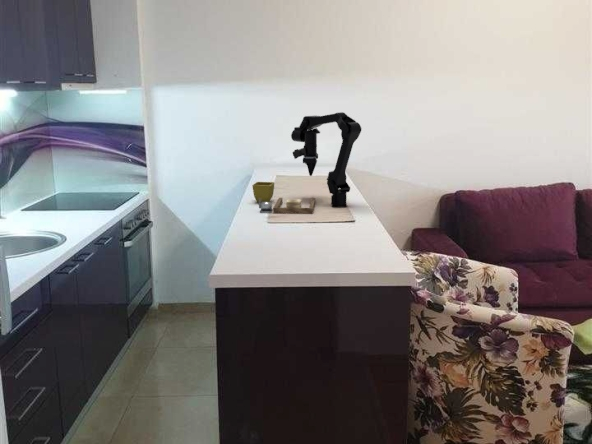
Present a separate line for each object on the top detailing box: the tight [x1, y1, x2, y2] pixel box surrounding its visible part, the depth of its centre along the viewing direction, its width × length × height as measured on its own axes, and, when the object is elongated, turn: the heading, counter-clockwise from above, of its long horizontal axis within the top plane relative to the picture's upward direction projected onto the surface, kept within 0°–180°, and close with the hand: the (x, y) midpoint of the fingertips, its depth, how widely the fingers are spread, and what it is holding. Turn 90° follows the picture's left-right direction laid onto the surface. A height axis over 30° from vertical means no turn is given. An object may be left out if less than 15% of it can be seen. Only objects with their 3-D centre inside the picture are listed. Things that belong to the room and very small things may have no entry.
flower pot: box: [252, 181, 275, 204], centre depth 295 cm, size 9×9×9 cm
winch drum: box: [258, 198, 273, 214], centre depth 275 cm, size 6×5×6 cm
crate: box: [285, 198, 302, 208], centre depth 275 cm, size 6×6×5 cm
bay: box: [272, 197, 316, 215], centre depth 283 cm, size 17×23×2 cm
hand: (310, 175), depth 297 cm, fingers closed
